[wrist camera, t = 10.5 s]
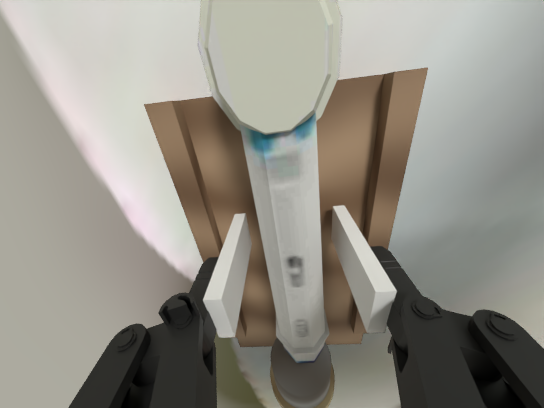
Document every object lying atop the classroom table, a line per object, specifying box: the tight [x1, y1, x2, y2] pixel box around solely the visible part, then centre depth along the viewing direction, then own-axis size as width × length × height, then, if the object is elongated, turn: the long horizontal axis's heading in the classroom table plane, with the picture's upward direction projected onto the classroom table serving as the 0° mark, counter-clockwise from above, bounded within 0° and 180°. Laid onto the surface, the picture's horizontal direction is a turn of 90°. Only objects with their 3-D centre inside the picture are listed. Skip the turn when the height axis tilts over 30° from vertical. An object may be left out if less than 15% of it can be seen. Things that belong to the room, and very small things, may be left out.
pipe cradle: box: [144, 68, 428, 408], centre depth 15 cm, size 26×14×8 cm, turn 6°
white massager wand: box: [198, 0, 342, 363], centre depth 12 cm, size 5×7×25 cm
